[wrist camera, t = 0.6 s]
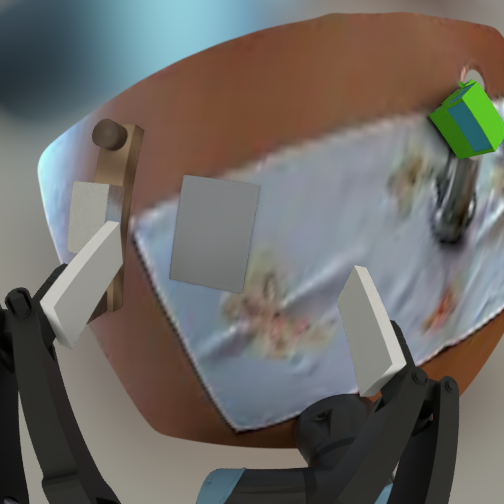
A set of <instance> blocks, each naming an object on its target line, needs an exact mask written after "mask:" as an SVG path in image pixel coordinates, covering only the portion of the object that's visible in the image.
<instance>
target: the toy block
mask: <svg viewBox="0 0 504 504" xmlns="http://www.w3.org/2000/svg"><path fill="white" fill-rule="evenodd" d="M458 84H459V85H460V87H459V89H457V90H456V91H454V92H453V93H452V94H451V95H450V96H449V97H448V98H447V99H446V100H445V101H444V102H442V103H441V104H440V105H441V106H440V107H438V108H437V109H435V110H434V111H433V112H432V113H431V114H430V115H429V117H430V118H431V120H432V121H433V122H434V124H435V125H436V126H437V128H438V129H439V131H440V132H441V133H442V135H443V136H444V138H445V139H446V141H447V142H448V144H449V145H450V147H451V148H452V150H453V151H454V153H455V155H456V156H457V158H458V159H463V158H467V157H472V156H476V155H481V154H485V153H490V152H495V151H496V149H497V148H498V146H499V145H500V143H501V142H502V140H503V138H504V122H503V121H502V119H501V117H500V116H499V114H498V112H497V111H496V109H495V107H494V106H493V104H492V103H491V101H490V99H489V98H488V96H487V95H486V93H485V92H484V91H483V89H482V88H481V86H480V85H479V84H478V82H474V80H470V81H469V82H467V83H465V84H463V83H462V82H459V83H458Z"/></svg>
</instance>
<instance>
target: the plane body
mask: <svg viewBox="0 0 504 504" xmlns="http://www.w3.org/2000/svg"><path fill="white" fill-rule="evenodd" d="M143 133H144V129H142V128H140V127H139V126H137V125H136V124H118V123H116V122H114V121H112V120H110V119H103V120H101V121H100V122H99V123H98V124H97V125H96V126H95V128H94V130H93V133H92V139H93V142H94V143H95V144H96V145H97V146H100V147H101V148H100V153H99V157H98V162H97V168H96V173H95V179H94V183H100V184H110V185H117V186H124V187H125V193H124V200H123V207H122V215H121V224H120V234H121V247H122V258H123V264H122V266H121V267H120V269H119V270H118V272H117V273H116V275H115V276H114V278H113V280H112V281H111V283H110V284H109V286H108V288H107V289H106V291H105V292H104V294H103V296H102V297H101V299H100V301H99V303H98V304H97V306H96V308H95V309H94V311H93V313H92V315H91V316H90V318H89V320H88V322H87V323H86V324H88V323H89V322H91V321H92V320H94V319H95V318H97V317H98V316H100V315H102V314H103V313H105V312H106V311H110V312H114V311H116V310H117V309H119V308H120V307H122V306H123V276H124V260H125V247H126V236H127V227H128V218H129V210H130V203H131V196H132V189H133V183H134V177H135V172H136V166H137V161H138V156H139V151H140V147H141V142H142V138H143Z"/></svg>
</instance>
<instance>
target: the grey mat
mask: <svg viewBox="0 0 504 504" xmlns="http://www.w3.org/2000/svg"><path fill="white" fill-rule="evenodd" d="M259 190H260V186H259V185H253V184H247V183H241V182H234V181H227V180H220V179H213V178H205V177H197V176H189V175H184V177H183V182H182V188H181V194H180V200H179V207H178V213H177V220H176V227H175V235H174V242H173V250H172V259H171V268H170V278H169V279H172V280H176V281H181V282H186V283H191V284H196V285H201V286H206V287H211V288H216V289H221V290H226V291H231V292H237V293H242V290H243V284H244V278H245V272H246V266H247V260H248V255H249V249H250V243H251V237H252V231H253V225H254V219H255V214H256V208H257V202H258V196H259Z"/></svg>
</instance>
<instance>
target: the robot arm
mask: <svg viewBox="0 0 504 504" xmlns="http://www.w3.org/2000/svg"><path fill="white" fill-rule="evenodd" d="M122 264H123V258H122V247H121V234H120V223H119V222H113V221H107V222H106V223H105V224H104V225H103V226H102V228H101V229H100V230H99V231H98V232H97V233H96V234H95V235H94V236H93V237H92V238H91V239H90V241H89V242H88V243H87V244H86V245H85V246H84V247H83V248H82V250H81V251H80V252H79V253H78V254H77V255H76V257H75V258H74V259H73V260H72V261H71V263H70V264H69V265H68V264H62V265H61V266H59V267H58V268H56V269H55V270H54V271H53V273H52V274H51V275H50V277H48V279H47V280H46V282H45V283H44V284H43V285H42V286H41V288H40V289H39V290H38V291H37V293H36V294H35V295H34V297H33V298H31V296H30V293H29V291H28V290H27V289H26V288H22V287H21V288H16V289H14V290H12V291H11V292H9V293H8V295H7V296H6V298H5V304H6V306H7V308H8V310H7V309H2V307H1V305H0V504H29V495H28V489H27V484H26V479H25V473H24V467H23V461H22V454H21V446H20V435H19V414H18V390H19V394H20V399H21V404H22V408H23V412H24V416H25V420H26V424H27V428H28V431H29V435H30V438H31V441H32V444H33V448H34V450H35V453H36V456H37V459H38V461H39V464H40V467H41V469H42V472H43V477H44V478H43V480H42V488H43V490H44V493H45V495H46V497H47V500H48V501H49V503H50V504H121V503H120V501H119V500H118V498H117V496H116V495H115V493H114V492H113V490H112V489H111V488H110V487H109V485H108V484H107V483H106V482H105V481H104V479H103V478H102V476H101V474H100V472H99V471H98V468H97V466H96V464H95V462H94V460H93V458H92V456H91V454H90V452H89V450H88V448H87V445H86V444H85V441H84V439H83V436H82V434H81V432H80V429H79V427H78V424H77V421H76V419H75V416H74V413H73V411H72V408H71V405H70V402H69V399H68V396H67V393H66V390H65V386H64V383H63V379H62V376H61V372H60V368H59V365H58V360H57V356H56V352H55V347H54V345H53V341H54V339H55V337H56V338H57V340H58V342H59V344H60V345H62V346H64V347H67V348H69V349H72V350H73V348H74V346H75V344H76V342H77V340H78V338H79V336H80V334H81V333H82V331H83V329H84V327H85V325H86V323H87V322H88V320H89V318H90V316H91V315H92V313H93V311H94V309H95V308H96V306H97V304H98V303H99V301H100V299H101V297H102V296H103V294H104V292H105V291H106V289H107V288H108V286H109V284H110V283H111V281H112V280H113V278H114V276H115V275H116V273H117V272H118V270H119V269H120V267H121V266H122ZM337 304H338V307H339V311H340V314H341V318H342V322H343V325H344V329H345V333H346V337H347V341H348V345H349V349H350V353H351V357H352V361H353V365H354V370H355V374H356V378H357V383H358V388H359V392H360V395H354V394H345V395H338V396H333V397H330V398H327V399H324V400H322V401H319V402H317V403H315V404H314V405H312V406H311V407H309V408H308V409H306V410H305V411H304V412H303V413H302V414H301V415H300V416H299V418H298V419H297V421H296V423H295V425H294V441H295V444H296V447H297V448H298V450H299V451H300V453H301V455H302V456H303V458H304V459H305V461H306V462H307V464H308V467H306V468H292V469H246V468H242V469H216V470H214V471H212V472H211V473H210V474H209V475H208V476H207V478H206V479H205V481H204V483H203V485H202V487H201V489H200V492H199V495H198V498H197V501H196V504H448V501H449V497H450V492H451V487H452V482H453V476H454V470H455V462H456V453H457V443H458V428H459V388H458V385H457V383H456V381H455V380H454V379H453V378H452V377H450V376H445V377H443V378H442V379H441V380H440V381H435V380H432V379H429V378H428V376H427V374H426V372H425V371H423V370H422V369H421V368H419V367H416V366H415V364H414V361H413V358H412V356H411V353H410V351H409V348H408V346H407V344H406V341H405V338H403V337H404V336H403V333H402V331H401V329H400V327H399V326H398V325H397V323H396V322H395V321H392V320H389V318H388V315H387V313H386V311H385V308H384V306H383V304H382V301H381V299H380V297H379V295H378V292H377V290H376V288H375V286H374V284H373V282H372V279H371V277H370V275H369V273H368V271H367V269H366V268H365V267H360V266H355V265H354V267H353V270H352V272H351V274H350V276H349V278H348V280H347V282H346V284H345V286H344V288H343V290H342V292H341V294H340V296H339V298H338V300H337ZM380 390H381V393H382V396H381V397H380V398H379V399H378V400H376V401H375V402H374V403H373V402H372V401H371V400H369V399H368V398H366V396H374V395H375V394H377V393H378V392H379V391H380ZM432 415H433V419H432ZM399 459H400V460H399ZM398 461H399V464H398V468H397V471H396V475H395V476H394V474H393V471H394V469H395V467H396V465H397V463H398Z"/></svg>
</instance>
